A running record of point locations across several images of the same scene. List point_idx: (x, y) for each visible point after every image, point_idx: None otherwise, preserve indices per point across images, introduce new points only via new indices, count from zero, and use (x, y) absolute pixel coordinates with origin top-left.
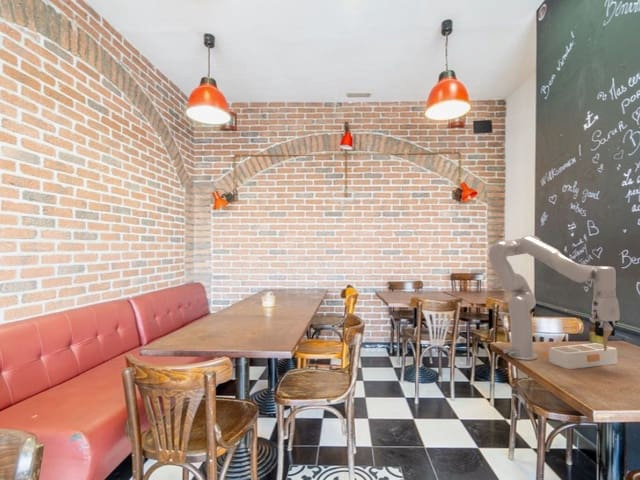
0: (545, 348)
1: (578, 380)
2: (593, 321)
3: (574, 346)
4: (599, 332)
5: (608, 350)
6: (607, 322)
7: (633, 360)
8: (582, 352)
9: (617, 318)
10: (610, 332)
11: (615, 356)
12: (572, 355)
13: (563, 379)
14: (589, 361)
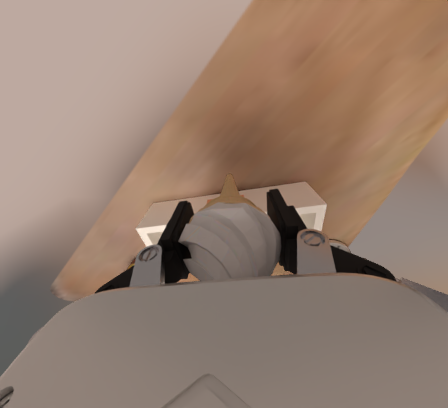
0: None
1: (375, 90)
2: (437, 291)
3: None
4: (293, 211)
5: (167, 222)
6: (224, 278)
7: (101, 217)
8: (265, 211)
9: (85, 318)
10: (218, 201)
11: (150, 213)
12: (303, 202)
13: (408, 106)
14: (241, 195)
